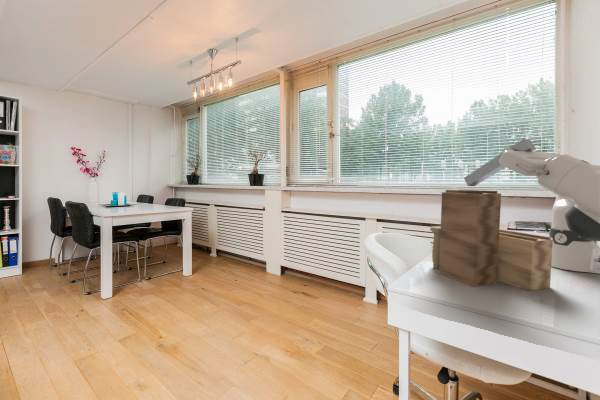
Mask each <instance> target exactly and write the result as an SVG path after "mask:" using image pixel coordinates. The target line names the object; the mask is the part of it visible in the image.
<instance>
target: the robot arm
mask: <svg viewBox="0 0 600 400" xmlns="http://www.w3.org/2000/svg"><path fill="white" fill-rule="evenodd" d="M502 153H503V154H502V156H501V158H500V160H499V163H500V164H501V165H502V166H504V167H506V168H507V169H508V170H511V171H512V172H515V173H517V174H520V175H522V176H525V177H526V176H527V177H531V176H532V177H536V179H537V183H538V186H540V187H542V188H543V189H545V190H548V191H550V192H551V193H553V194H555V195H556V197H555V201H554V203H553V206H552V211H551V225H550V226H551V227H549V231H548V233H549V234H548V237H551V239H552V240H553V245H552V262H551V268H557V269H561V270H567V271H573V272H579V273H581V272H582V273H590V274H591V273H593V274H599V275H600V246H599V245H598V244H597V243H596V242H600V165H598V164H597V165H596V164H591V163H590V162H588V161H586V160H583V159H579V158H575V157H574V156H571V155H569V154H559V153H555V152H537V151H532V152H525V151H514V149H512V148H510V147H509V146H505V147H504V148H503V150H502ZM506 168H505V169H506Z"/></svg>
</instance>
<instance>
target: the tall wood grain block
mask: <svg viewBox="0 0 600 400" xmlns="http://www.w3.org/2000/svg"><path fill="white" fill-rule="evenodd" d="M501 203H502V193H499V192H498V190H475V189H457V190H456V189H445V192H444V191H443V192H441V209H440V210H441V213H440V214H441V215H440V226H441V234H440V261H439V269H438V275H439V274H440V275H441V276H444V277H447V278H449V279H453V280H455V281H458V282H460V283H462V284H466V285H467V286H470V287H473V288H474V287H480V286H485V285H492V284H493V285H494V284H497V283H498V280H497V268H498V248H499V229H500V227H501V225H500V224H501V207H502V206H501V205H502V204H501Z"/></svg>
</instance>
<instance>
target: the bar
mask: <svg viewBox="0 0 600 400" xmlns="http://www.w3.org/2000/svg"><path fill="white" fill-rule="evenodd" d="M509 148H512V149H514V151H525V152H535V150H537V148H536V146H535V145H534V143H533V141H532V140H531V139H526V138H525V139H524V138H523V139H521V140H519V141H518V142H516V143H515V144H514V145H512V146H511V147H509ZM502 154H503V152H502V153H500V154H498V155H497V156H495V157H493V158H492V159H490V160H489V161H488V162H486V163H485V164H483V165H481V166H480V167H478V168H477V169H475V170H473V172H471V173H469V174H468V175H466V176H465V177H463V179H464V181H465V184H466V185H467V187H476V186H477V185H479V184H480V183H482V182H484V181H486V180H487V179H489V178H491V177H492V176H494V175H495V174H497V173H499V172H501V171H502V170H504V169H506V167H504V166H502V165H501V164H500V163H499V160H500V158H501V156H502Z"/></svg>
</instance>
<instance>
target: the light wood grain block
mask: <svg viewBox="0 0 600 400" xmlns="http://www.w3.org/2000/svg"><path fill="white" fill-rule="evenodd" d="M552 245H553V240H552V239H551V237H550V236H546V235H540V234H532V233H525V232H519V231H513V230H507V229H500V228H499V248H498V268H497V282H501V283H505V284H508V285H510V286H512V287H515V288H516V287H517V288H520V289H521V290H525V291H529V292H532V291H537V290H541V289H547V288H548V289H549V288H551V275H552V274H551V273H552V266H551V262H552Z"/></svg>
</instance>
